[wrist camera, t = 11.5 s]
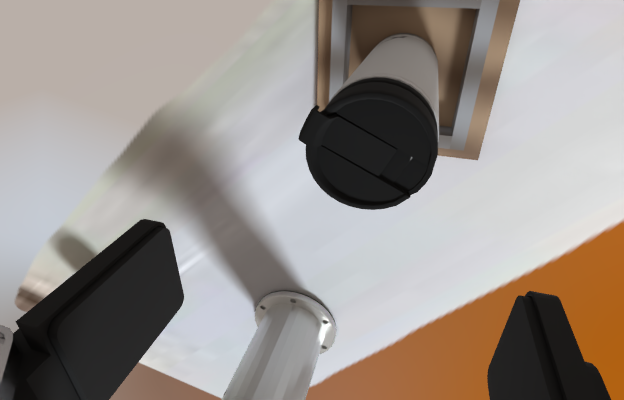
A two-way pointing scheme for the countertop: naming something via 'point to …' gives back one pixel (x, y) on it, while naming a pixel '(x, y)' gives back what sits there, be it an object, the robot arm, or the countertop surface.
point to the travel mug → (378, 127)
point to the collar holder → (446, 44)
